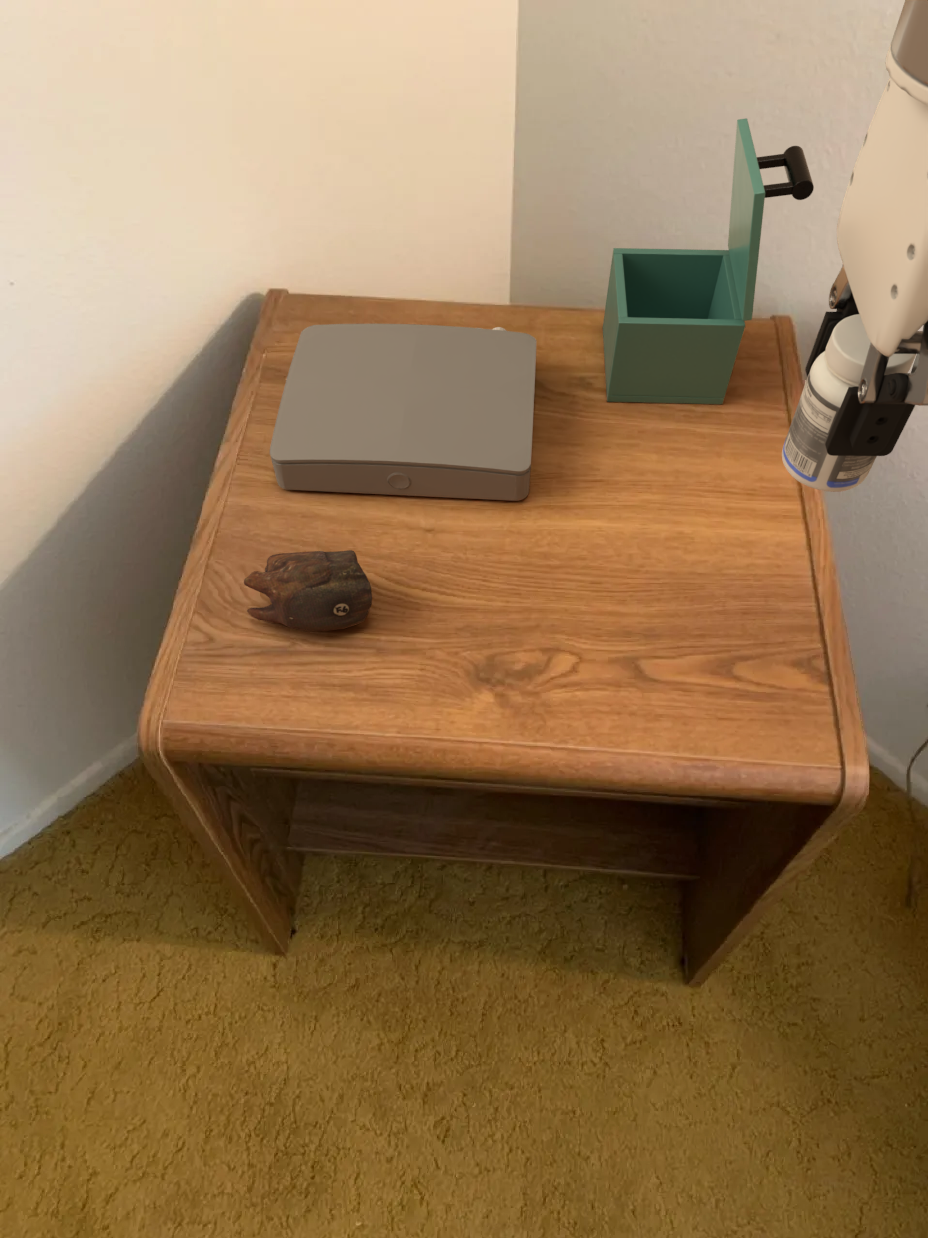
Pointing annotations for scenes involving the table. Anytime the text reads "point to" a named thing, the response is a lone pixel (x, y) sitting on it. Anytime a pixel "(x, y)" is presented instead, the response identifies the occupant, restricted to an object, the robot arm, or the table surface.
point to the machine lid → (757, 206)
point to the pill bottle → (832, 410)
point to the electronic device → (408, 411)
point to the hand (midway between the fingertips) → (846, 410)
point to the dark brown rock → (313, 590)
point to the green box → (670, 326)
